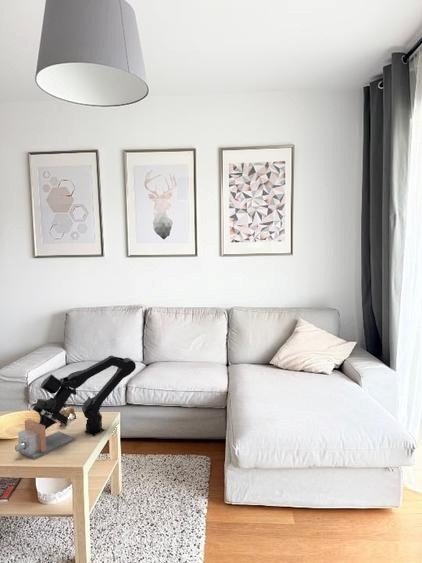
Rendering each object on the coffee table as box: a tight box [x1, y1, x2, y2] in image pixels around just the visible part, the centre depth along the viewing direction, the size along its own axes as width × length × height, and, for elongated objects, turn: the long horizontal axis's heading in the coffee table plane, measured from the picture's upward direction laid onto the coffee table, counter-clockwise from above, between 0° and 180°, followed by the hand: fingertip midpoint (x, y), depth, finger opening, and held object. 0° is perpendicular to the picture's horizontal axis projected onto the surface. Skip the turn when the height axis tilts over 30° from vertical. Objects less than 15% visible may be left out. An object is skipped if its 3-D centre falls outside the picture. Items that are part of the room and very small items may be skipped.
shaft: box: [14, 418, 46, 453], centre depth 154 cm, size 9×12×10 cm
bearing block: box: [17, 429, 39, 457], centre depth 154 cm, size 4×8×8 cm, turn 56°
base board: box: [18, 431, 76, 461], centre depth 161 cm, size 19×12×1 cm, turn 146°
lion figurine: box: [59, 406, 77, 427], centre depth 184 cm, size 15×5×9 cm, turn 0°
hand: (37, 433), depth 158 cm, fingers closed, pressing on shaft
